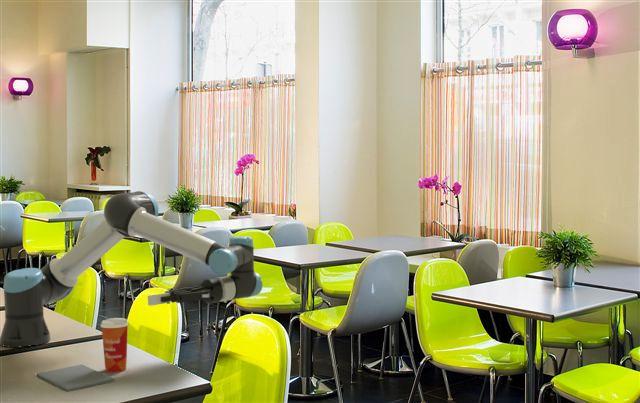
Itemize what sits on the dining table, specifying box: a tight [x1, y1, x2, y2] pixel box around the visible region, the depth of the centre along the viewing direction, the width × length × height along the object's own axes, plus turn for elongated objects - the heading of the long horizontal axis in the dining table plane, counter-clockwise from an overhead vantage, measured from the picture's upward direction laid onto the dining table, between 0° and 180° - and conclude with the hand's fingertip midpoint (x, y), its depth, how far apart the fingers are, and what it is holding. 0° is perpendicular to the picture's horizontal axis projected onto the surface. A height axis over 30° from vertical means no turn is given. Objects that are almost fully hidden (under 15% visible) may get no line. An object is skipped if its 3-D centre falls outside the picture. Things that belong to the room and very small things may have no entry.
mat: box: [36, 364, 116, 392], centre depth 209 cm, size 20×13×1 cm, turn 42°
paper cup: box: [100, 317, 129, 373], centre depth 216 cm, size 8×8×14 cm
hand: (149, 300), depth 222 cm, fingers closed
